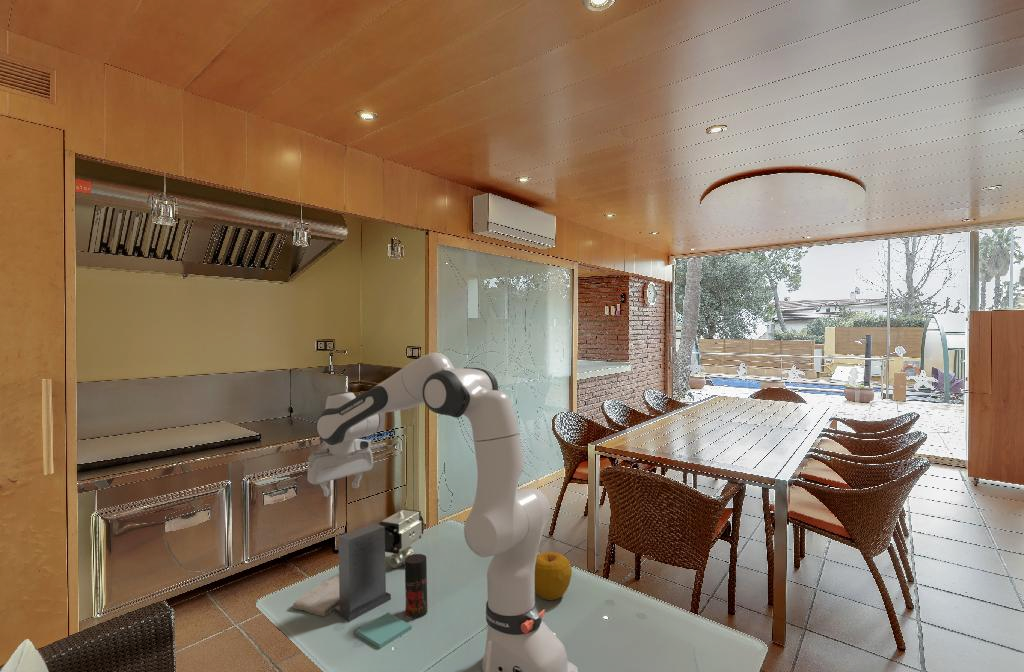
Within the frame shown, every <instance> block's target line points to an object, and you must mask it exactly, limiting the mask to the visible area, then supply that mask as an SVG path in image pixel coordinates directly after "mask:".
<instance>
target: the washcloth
mask: <svg viewBox="0 0 1024 672" xmlns="http://www.w3.org/2000/svg"><path fill="white" fill-rule="evenodd" d="M339 605H340V598H339V575H335V576H333V577H332V578H330V579H328V580H325V581H322V582H321V583H320V584H318V585H316V586H315V587H314V588H311V589H310V590H308V591H307V592H306V593H304V594H303V595H301V596H299V597H297V599H296V600H295V601H294V602H293V604H292V607H293V608H294V609H295V610H298V609H299V610H298V611H302V610H305V611H304V612H307V611H308V613H313V614H312V615H317V616H320V615H321V617H326V616H327V615H329V614H330V613H331V612H333V611H335V610H334V608H335V607H337V606H339ZM328 613H329V614H328ZM325 615H326V616H325Z"/></svg>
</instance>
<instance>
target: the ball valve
mask: <svg viewBox="0 0 1024 672" xmlns="http://www.w3.org/2000/svg"><path fill="white" fill-rule="evenodd" d="M424 522H425V521H424V518H423V516H422V515H421V510H415V509H408V508H407V509H406V508H403V509H401V510H399V511H397V512H396V513H393V514H392V515H390V516H388V517H386V518H384V519H383V520H381V521H379V525H382V526H385V553H390V554H391V555H390V557H389V559H388V563H389V566H390V568H393V569H395V568H399V567H401V566H405V558H406V557H408V556H410V555H413V554H416V553H415V552H414V549H413V547H412V545H413V544H414V543H416V542H417V541H418V540H420V539H421V538H422V535H423V534H424Z"/></svg>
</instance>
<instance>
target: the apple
mask: <svg viewBox="0 0 1024 672" xmlns="http://www.w3.org/2000/svg"><path fill="white" fill-rule="evenodd" d="M572 571H573V569H572V566H571V564H570V561H569V559H568V558H566V556H564V555H563V554H560V553H558V552H551V551H546V552H541V553H537V558H536V564H535V594H537V595H538V597H539V598H541V599H542V600H543V599H544V600H548V601H553V600H557V599H560V598H562V597H563V596H564V595H565V593H566V592H567V590H568V588H569V585H570V582H571V579H572V574H573V572H572Z"/></svg>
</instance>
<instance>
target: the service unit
mask: <svg viewBox="0 0 1024 672" xmlns="http://www.w3.org/2000/svg"><path fill="white" fill-rule="evenodd" d="M337 537H338V540H337V541H338V576H339V598H340V605H339V606H337V607H335V608H334V610H333V611H334V614H335V615H337V616H338V617H340V618H342V619H343V620H344V621H347V622H349V623H350V622H351V621H354V620H355V619H358V618H359V617H361V616H363V615H364V614H367V613H368V612H370V611H372V610H374V609H376V608H378V607H380V606H382V605H383V604H385V603H387V602H389V601H390V600H392V594H391V593H389V592H387V590H386V589H387V588H386V587H387V584H386V583H387V581H386V552H385V526H382V525H379V524H378V523H376V522H373V523H370V524H368V525H364V526H362V527H359V528H356V529H354V530H351V531H349V532H346V533H343V534H340V535H338V536H337Z"/></svg>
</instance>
